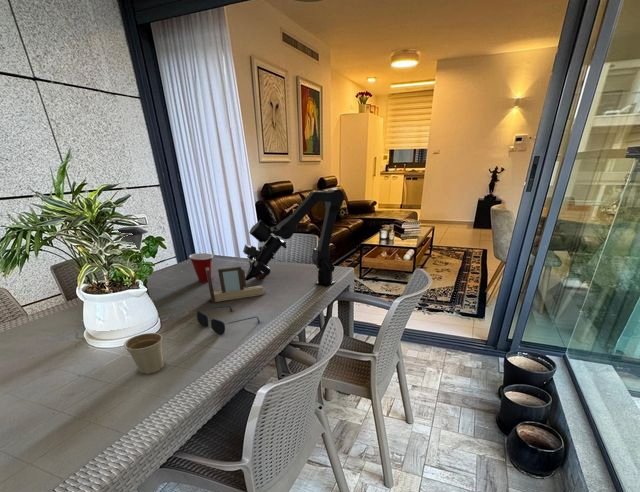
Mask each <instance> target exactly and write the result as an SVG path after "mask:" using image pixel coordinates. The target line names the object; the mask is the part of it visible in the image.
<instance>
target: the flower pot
mask: <svg viewBox="0 0 640 492" xmlns="http://www.w3.org/2000/svg"><path fill="white" fill-rule="evenodd" d="M162 341H163V335H161V334H160V333H156V332H145V333H141V334H138V335H135V336H132V337H130V338H128V339H127V340H126V341H124V343H123V348H124V349H126V350H127V352H128V353H129V354H130V356H131V358H132V359H133V362H134V363H135V365H136V367H137V369H138V372H140V374H147V375H150V374H154V373H157V372H160V370H161V369H162V368H164V357H163V352H162V351H163V350H162V345H163V342H162Z"/></svg>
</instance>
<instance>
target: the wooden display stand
mask: <svg viewBox="0 0 640 492" xmlns="http://www.w3.org/2000/svg"><path fill="white" fill-rule="evenodd" d="M205 269H206V274H207V279H208V281H207V284H208V288H209V290H208V291H209V296H210V300H211V303H218V302H225V301H231V300H237V299H238V300H239V299H244V298H250V297H251V298H252V297H257V296H263V295H265V292H264V287H263V286H262V285H255V286H249V287H244V290H239V291H232V292H225V293H222V290H221V291H214V286H213V281H212V279H211V275H210V270H209V268H208V267H207V268H205Z"/></svg>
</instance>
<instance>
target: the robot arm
mask: <svg viewBox="0 0 640 492" xmlns="http://www.w3.org/2000/svg"><path fill="white" fill-rule="evenodd" d="M344 200H345V193H344V192H343V190H341V189H339V188H328V190H311V191H310V192H309V194H308V195H307V196H306V197H305V198H304V200H303V201H302V202H301V203H300V204H299V205H298V206H297V207H296V209H294V211H293V212H292V213H291V214H290V215H289V216H287V217H286V218H284V219H282V221H280V222H278V223H277V224H276V226H272V227H269V226H268V225H267V224H266V223H265V222H264V221H263V220H261V219H259V221H257V222H256V223H255V224H253V226H252V227H251V228H250V230H249V235H251V236H252V237H253V238H255V240H257V241H258V242H259V243H261V244H262V243H264V244H263V245H262V246H259V247H258V248H257V246H254V245H249V244H244V247H243V250H242V252H243V253H244V255H246V258H247V259H249V260H248V264H249V268H248V270H247V272H246V274H245V280H246V281H247V282H248V281H251V280H252V279H254V278H255V277H256V276H258V275H260V274H263V273H264V274H265V275H267V276H266V277H268V276H269V275H270V273H271V268H270V267H269V265H268V264H269V263H270V262H271V260H274V259H275V257H274V256H275V255H276V254H277V253H278V251H280V249H281V247H282V248H283V249H287V248H288V247H287V241H285V240H289V239H291V238H292V236H293V235H294V234H295V232H296V230H297V227H298V226H299V224H300V223H301V221H302V220H303V219H304V218H306V216H307V215H308V214H309V212H310V211H311V210H312V209H314V207H315V206H316V204H318V203H319V202H322V203H324V208H325V214H324V218H323V223H322V227H321V232H320V237H319V241H318V245H317V247H316V248H314V247H313V248H312V253H311V256H310V258H311V261H312V263H313V265H314V266H315V267H316V269H318V270H317V281H316V282H315V284H316V285H320V286H324V287H328V286H330V285H333V284H335V283H336V281H335V280H333V272H335V269H336V267H335V265H334V264H333V263H332V262H331V252H330V246H331V241H332V237H333V231H334V227H335V222H336V220H337V219H336V218H337V214H338V212H339V211H340V209H341V208H342V206H343V203H344Z"/></svg>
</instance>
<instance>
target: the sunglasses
mask: <svg viewBox="0 0 640 492" xmlns="http://www.w3.org/2000/svg"><path fill="white" fill-rule="evenodd" d="M227 307H229V311H230V312H231V313H232V312H233V309H232V307H231V305H229V304H227V305H223V306H217V307H216V306H215V307H211V308H207V309H201V310H197V311H196V319H197V322H198V324H199V325H200V326H201V327H203V328H208V327H209V326H210V327H211V330H212V332H214V333H215V334H216V335H219V336H222V335H224V334H225V333H226V326H225V325H228V324H233V323H238V322H241V321H246V320H251V319H254V318H256V320H257V323H258V324H260V319H259V316H256V315H255V316H251V317H247V318H243V319H238V320H234V321H230V322H226V323H225V322H224V321H222V320H219V319H216V318H211V319H209V317H208V315H207V314H205V313H203V312H204V311H210V310H215V309H220V308H227Z"/></svg>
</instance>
